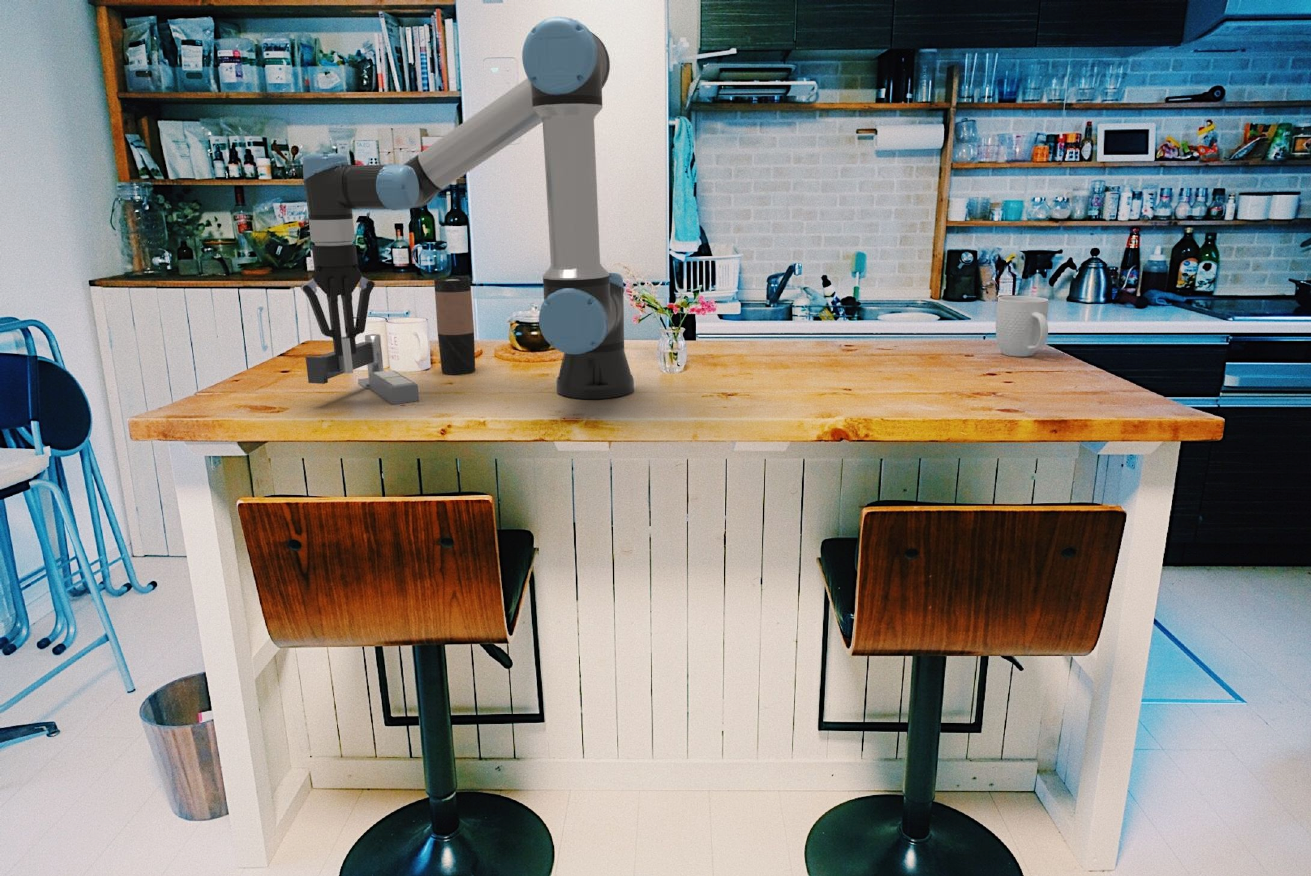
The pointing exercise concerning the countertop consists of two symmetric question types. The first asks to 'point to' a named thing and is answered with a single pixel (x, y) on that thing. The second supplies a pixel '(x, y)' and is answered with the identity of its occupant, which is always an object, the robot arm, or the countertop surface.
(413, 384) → the label block
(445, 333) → the travel mug
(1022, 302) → the mug
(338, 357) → the bar
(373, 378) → the label block
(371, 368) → the post
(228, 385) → the countertop surface
